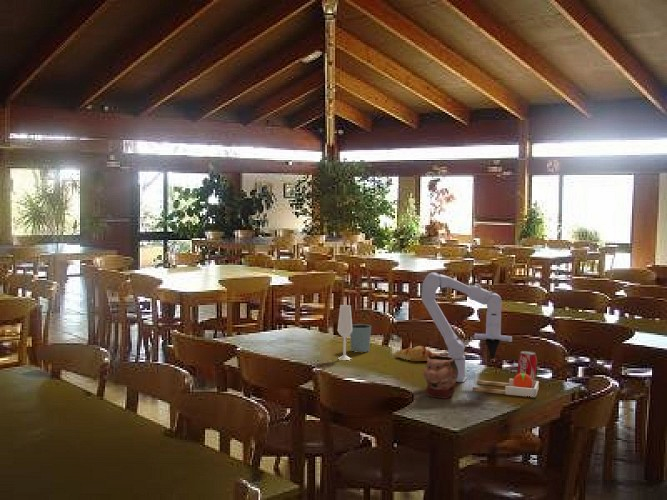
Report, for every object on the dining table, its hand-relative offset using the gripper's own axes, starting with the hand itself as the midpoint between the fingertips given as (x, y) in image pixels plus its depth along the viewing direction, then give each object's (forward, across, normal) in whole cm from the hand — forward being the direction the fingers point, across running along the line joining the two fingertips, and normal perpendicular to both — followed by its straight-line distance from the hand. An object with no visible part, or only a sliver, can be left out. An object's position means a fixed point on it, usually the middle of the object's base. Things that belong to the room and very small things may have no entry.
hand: (492, 358), depth 303 cm
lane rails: (+9, +1, -11) cm, 15 cm away
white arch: (+9, +13, -11) cm, 19 cm away
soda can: (+10, +13, +4) cm, 16 cm away
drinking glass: (+10, -66, +37) cm, 76 cm away
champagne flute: (+10, -67, +17) cm, 70 cm away
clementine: (+10, +13, -11) cm, 19 cm away
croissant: (+10, -36, +29) cm, 48 cm away
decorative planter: (+10, -15, -27) cm, 32 cm away
